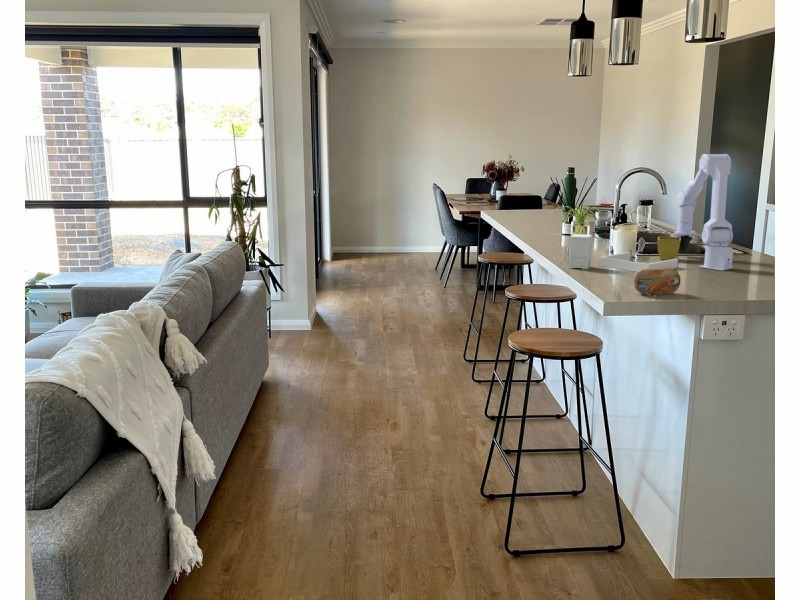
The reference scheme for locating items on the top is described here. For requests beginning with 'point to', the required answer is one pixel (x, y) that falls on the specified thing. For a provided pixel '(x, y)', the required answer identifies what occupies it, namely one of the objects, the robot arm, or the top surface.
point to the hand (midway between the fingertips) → (682, 253)
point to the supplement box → (580, 251)
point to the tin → (657, 281)
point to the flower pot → (668, 247)
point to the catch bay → (624, 262)
